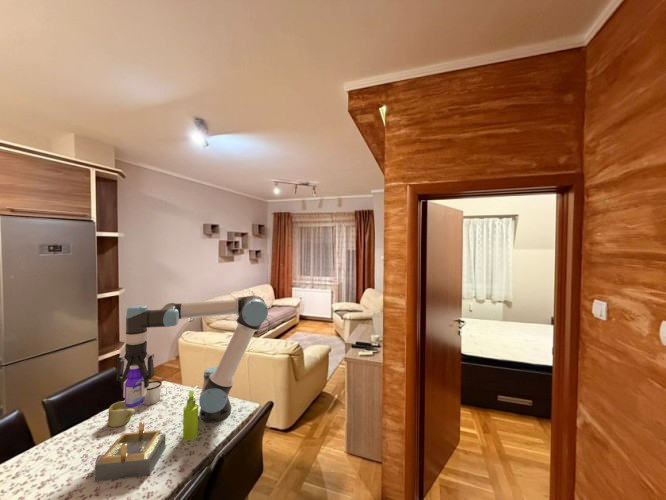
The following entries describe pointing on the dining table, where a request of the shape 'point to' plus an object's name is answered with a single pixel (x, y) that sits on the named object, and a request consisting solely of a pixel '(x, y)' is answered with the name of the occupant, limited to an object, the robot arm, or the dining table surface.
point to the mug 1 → (119, 414)
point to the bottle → (134, 387)
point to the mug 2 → (153, 392)
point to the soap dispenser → (190, 419)
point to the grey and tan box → (131, 455)
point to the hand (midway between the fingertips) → (135, 395)
